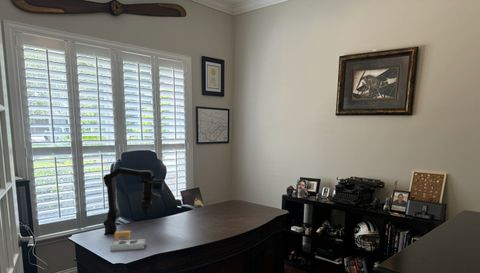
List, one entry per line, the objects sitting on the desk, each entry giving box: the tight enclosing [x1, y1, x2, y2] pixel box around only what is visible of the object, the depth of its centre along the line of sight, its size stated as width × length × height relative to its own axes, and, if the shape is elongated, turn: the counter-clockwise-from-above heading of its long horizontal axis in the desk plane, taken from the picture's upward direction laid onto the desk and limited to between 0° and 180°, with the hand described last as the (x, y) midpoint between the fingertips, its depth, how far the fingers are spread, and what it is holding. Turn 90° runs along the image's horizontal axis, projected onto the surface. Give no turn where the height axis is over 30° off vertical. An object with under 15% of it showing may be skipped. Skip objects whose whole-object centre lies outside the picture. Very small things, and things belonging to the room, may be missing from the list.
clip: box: [114, 230, 131, 241], centre depth 169 cm, size 8×3×6 cm, turn 102°
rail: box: [109, 238, 146, 252], centre depth 161 cm, size 18×7×3 cm, turn 102°
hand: (146, 213), depth 185 cm, fingers open, 9 cm apart
